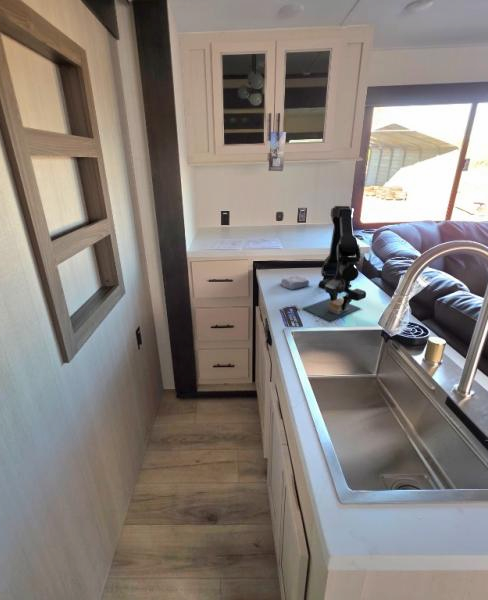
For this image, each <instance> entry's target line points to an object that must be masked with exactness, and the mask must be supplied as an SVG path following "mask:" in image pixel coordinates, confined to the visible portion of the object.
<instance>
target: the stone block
mask: <svg viewBox="0 0 488 600" xmlns="http://www.w3.org/2000/svg"><path fill="white" fill-rule="evenodd" d="M280 285H281V286H282V287H284V288H286V289H289V290H296V289H301V288H305V287H309V285H310V281H309V279H307V278H305V277H303V276H300V275H299V276H298V275H294V276H290V277H288V278H287V277H286V278H281V281H280Z"/></svg>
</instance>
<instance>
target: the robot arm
mask: <svg viewBox="0 0 488 600" xmlns="http://www.w3.org/2000/svg"><path fill="white" fill-rule="evenodd" d="M353 215H354V208H350V205H334V206H333V207H332V208H331V209H330V219H331V221H332V224H333V228H332V235H331V242H330V248H329V255H328V256H327V257H326V258H325V259H324V263H323V264H322V266H321V269H320V275H321V276H322V280H320V281H319V282H318V288H320V289H323V290H324V291H325V293H326V294H328V295H329V299H330V298H331V301H333V300H336V299H338V296H339V294H342V293H345V295H344V296H342V299H344V301H343V307H342V310H345V309H346V307H347V306H348V304H351V302H352V301H356V302H358V301H361V300H363V299H366V297H367V292H366V290H363V289H360V288H354V289H352V284H351V282H353V281H355V280H356V279H357V278H358V277H359V270H358V268H357V266H356V265H355V264H356V263H359V262H360V259H361V247H360V244H359V243H358V238H357V237H356V236H355V235H354V230H353ZM350 288H351V289H350Z"/></svg>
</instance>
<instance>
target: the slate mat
mask: <svg viewBox="0 0 488 600" xmlns="http://www.w3.org/2000/svg"><path fill="white" fill-rule="evenodd" d="M330 302H331V298H330V297H329V298H327V299H325V300H321V301H319V302H316V303H314V304H311V305H308V306H305V307H302V310H304V311H306V312H307V313H310V314H312V315H315V316H317V317H318V318H321V319H323V320H325V321H328V322H332V321H335V320H337V319H339V318H342V317H344V316H347V315H349V314H351V313H354V312H356V311H359V310H361V308H360V307H358V306H355V305H353V304H351V303H349V306H348V310H347V311H344V312H342V313H340V314H335V313H333V312H331V311H328V310H329V303H330Z"/></svg>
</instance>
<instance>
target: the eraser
mask: <svg viewBox="0 0 488 600" xmlns="http://www.w3.org/2000/svg"><path fill="white" fill-rule="evenodd" d="M343 301H344V299H343V297H342V298H341V297H339V298H338V297H337V299H336V300H333V301H331V302H330V303H329V310H328V311H331V312H333V313H335V314H340V313H342V312H344V311H347V310H348V306H349V304H350V303H349V304H348V306H347V307H346V309H345V310H342V307H343Z"/></svg>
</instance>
